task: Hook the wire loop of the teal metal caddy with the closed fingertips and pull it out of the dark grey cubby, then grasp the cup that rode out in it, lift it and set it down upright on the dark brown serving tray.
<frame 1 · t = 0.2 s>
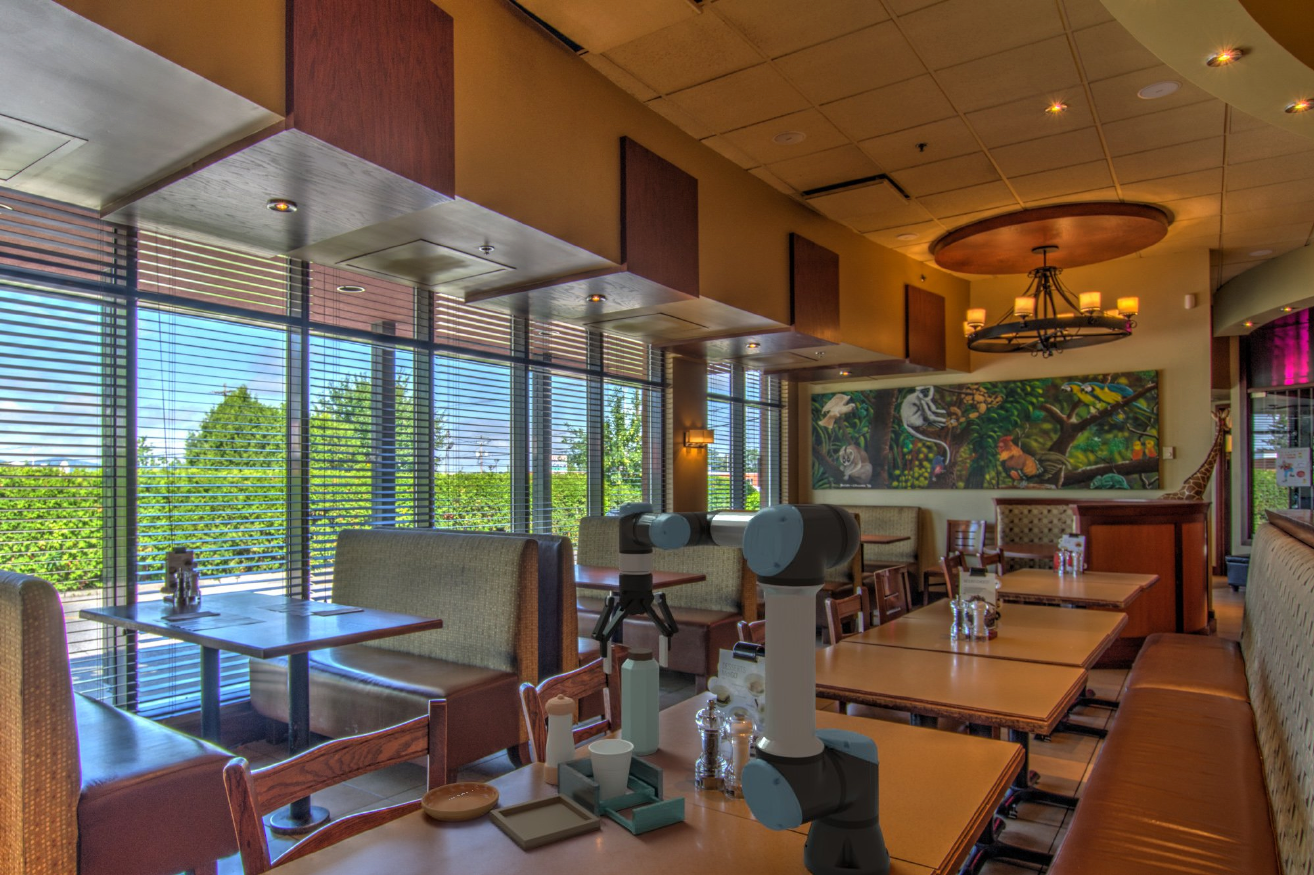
hand: (635, 669, 179), 27 cm above the table, fingers open, 13 cm apart
water bottle: (640, 750, 207), on the table
pepper shaker: (560, 779, 187), on the table
caddy: (625, 795, 172), point 2 cm above the table, slide at 0.0 cm
cup: (611, 798, 176), resting in caddy
tray: (544, 824, 163), on the table
cubby: (611, 797, 176), on the table
saucer: (460, 810, 171), on the table
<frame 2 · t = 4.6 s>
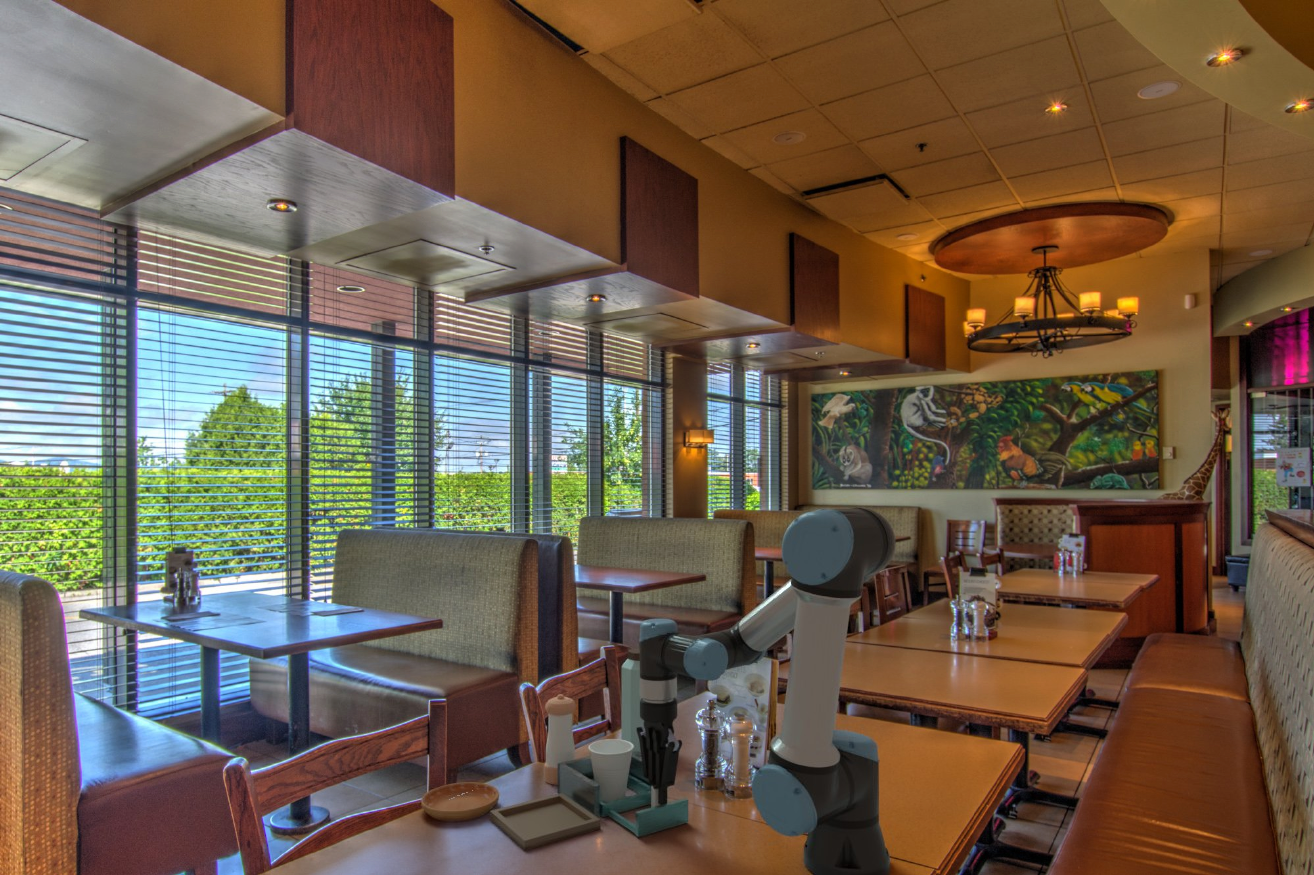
hand: (659, 818, 161), 2 cm above the table, fingers closed
caddy: (628, 797, 171), point 2 cm above the table, slide at 1.2 cm, touching gripper
everything else where it was.
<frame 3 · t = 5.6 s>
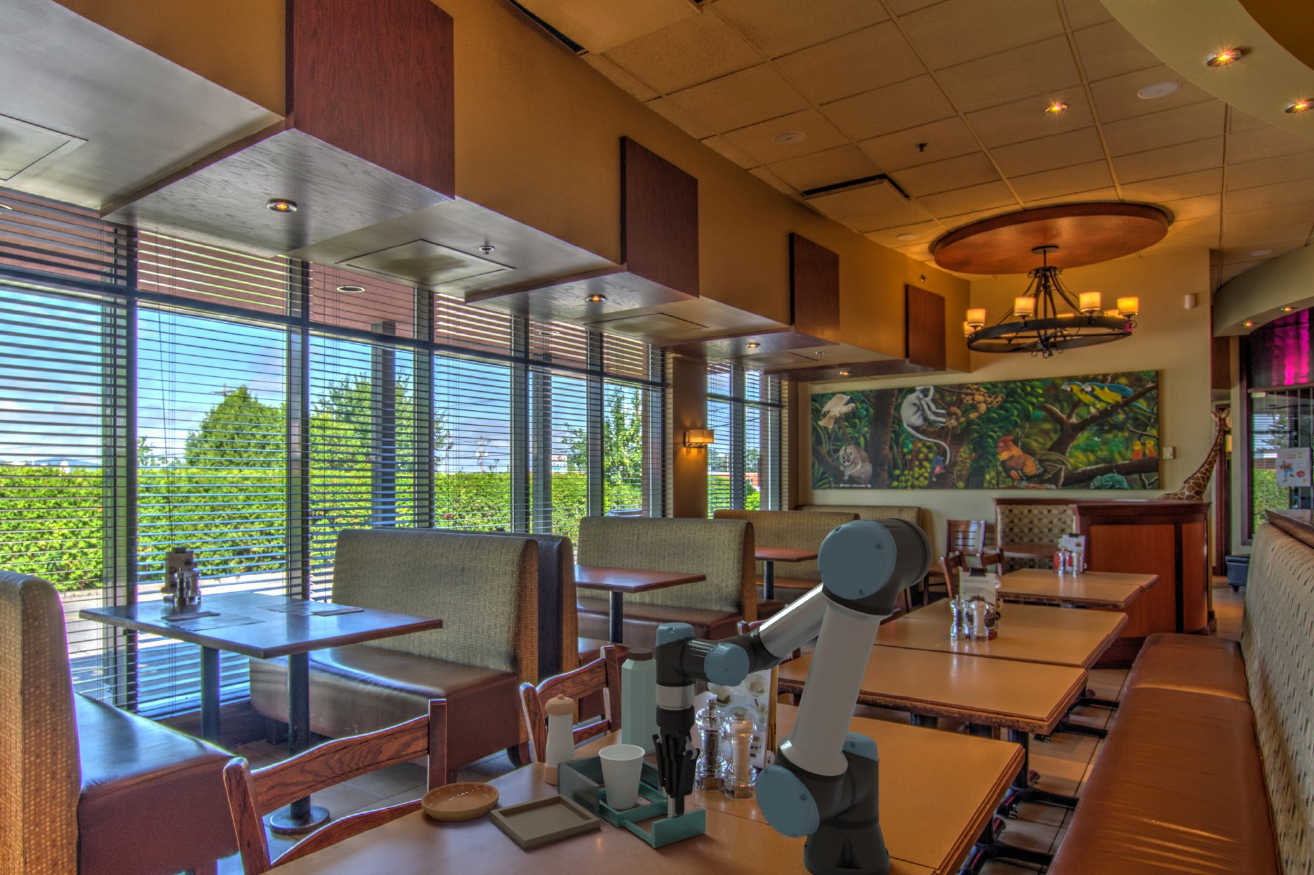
hand: (675, 828, 157), 2 cm above the table, fingers closed
caddy: (643, 806, 166), point 2 cm above the table, slide at 6.9 cm, touching cup, gripper
cup: (621, 805, 173), resting in caddy
everything else where it was.
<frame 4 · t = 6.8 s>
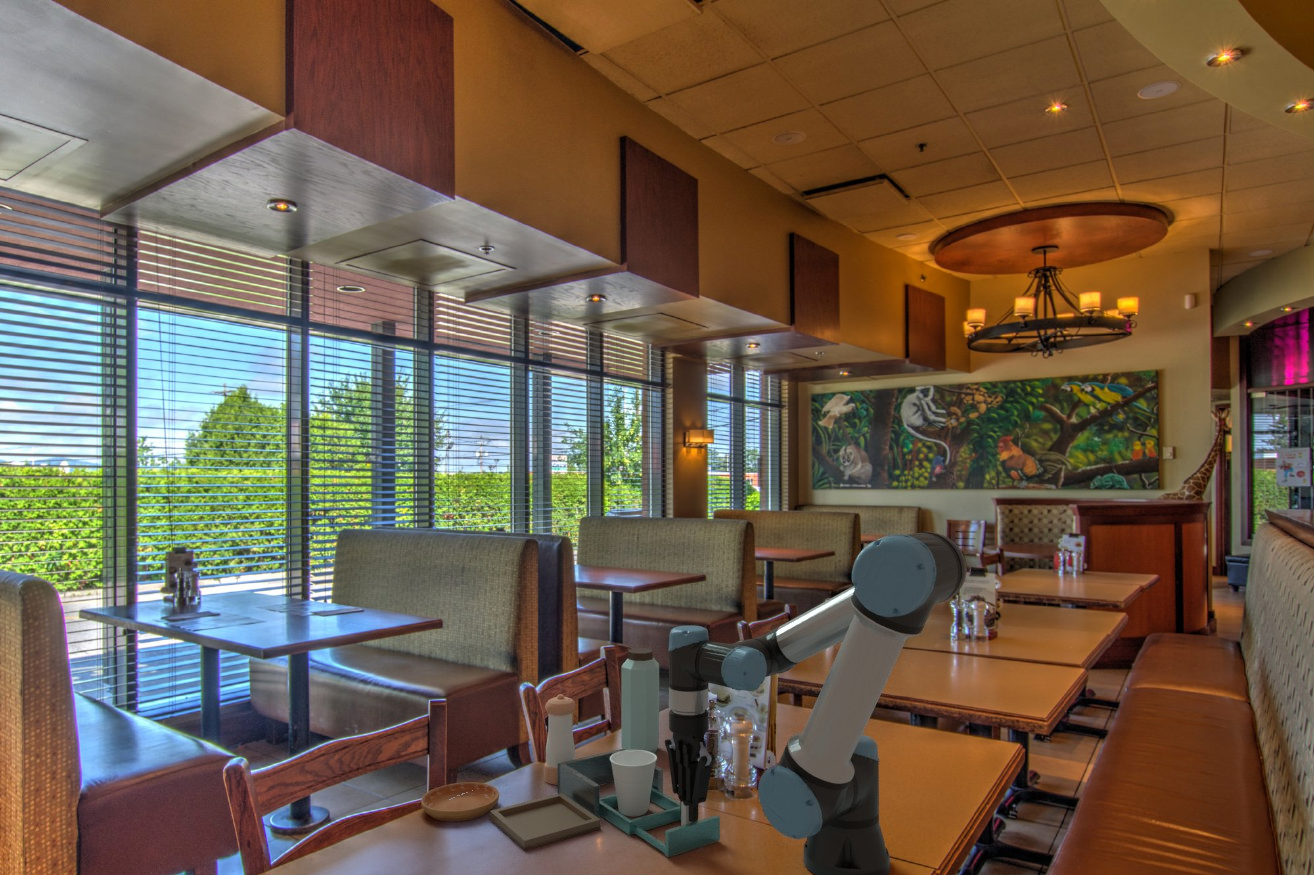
hand: (689, 836, 153), 2 cm above the table, fingers closed
caddy: (656, 813, 162), point 2 cm above the table, slide at 11.3 cm, touching cup, gripper
cup: (633, 812, 169), resting in caddy
everything else where it was.
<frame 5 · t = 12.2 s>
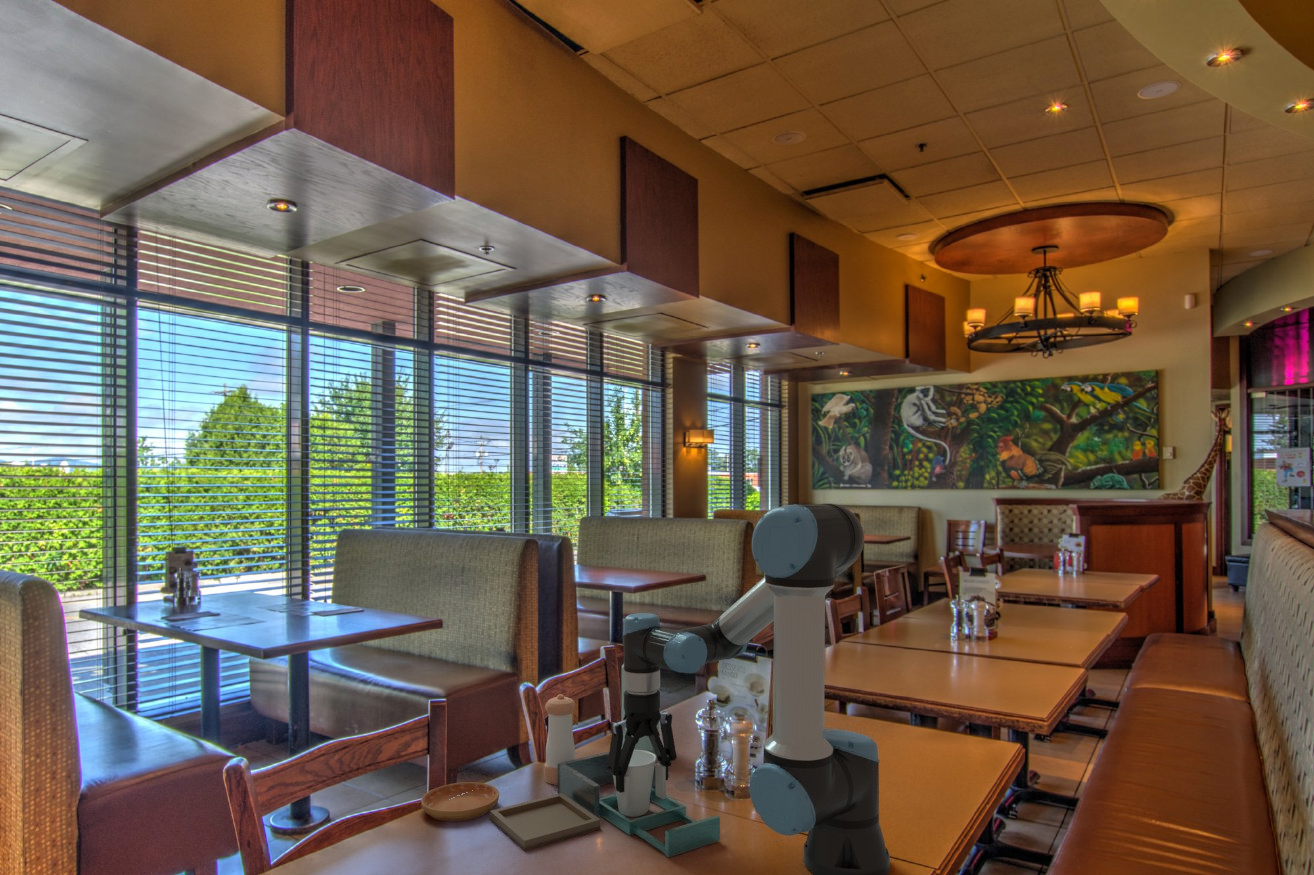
hand: (642, 801, 167), 3 cm above the table, fingers closed on cup, 8 cm apart
caddy: (656, 813, 162), point 2 cm above the table, slide at 11.3 cm, touching cup
cup: (633, 812, 169), resting in caddy, touching gripper
everything else where it was.
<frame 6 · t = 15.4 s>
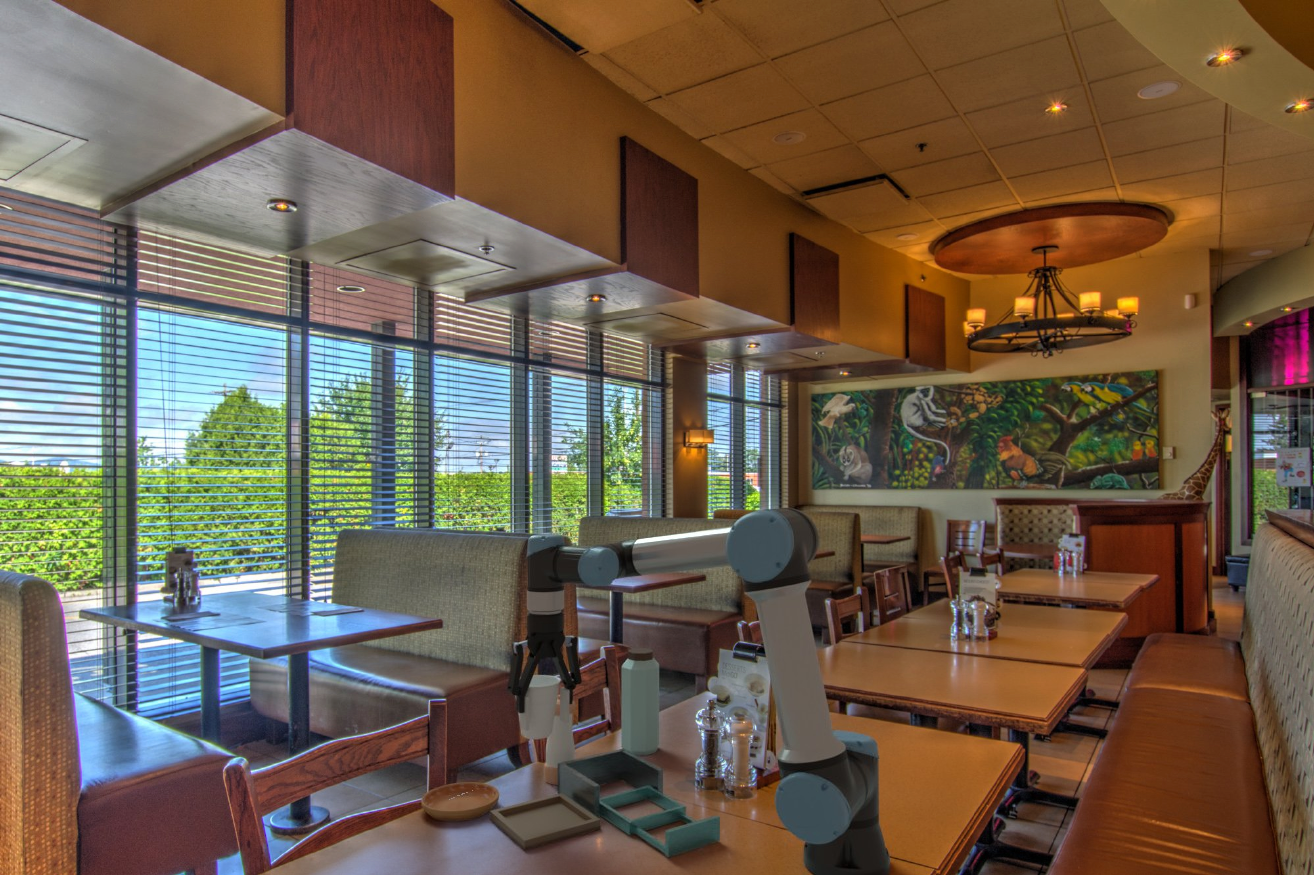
hand: (544, 724, 164), 20 cm above the table, fingers closed on cup, 8 cm apart
caddy: (656, 813, 162), point 2 cm above the table, slide at 11.3 cm
cup: (536, 736, 166), point 17 cm above the table, touching gripper
everything else where it was.
when the fingers open (5 cm above the table, at t = 18.5 s): cup moves 4 cm, resting on tray.
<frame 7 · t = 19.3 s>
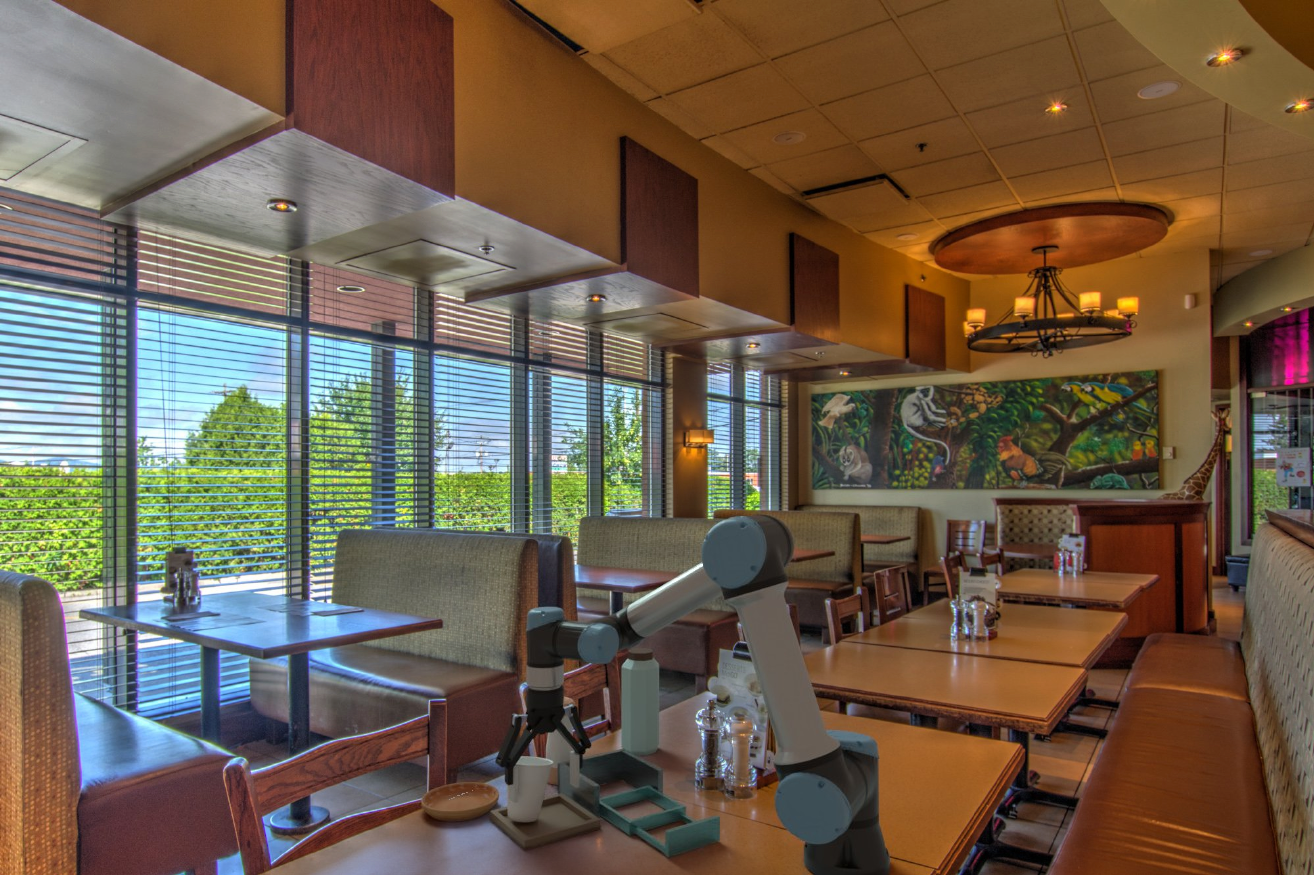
hand: (544, 792, 163), 6 cm above the table, fingers open, 13 cm apart
cup: (523, 819, 163), point 1 cm above the table, touching gripper, tray
everything else where it was.
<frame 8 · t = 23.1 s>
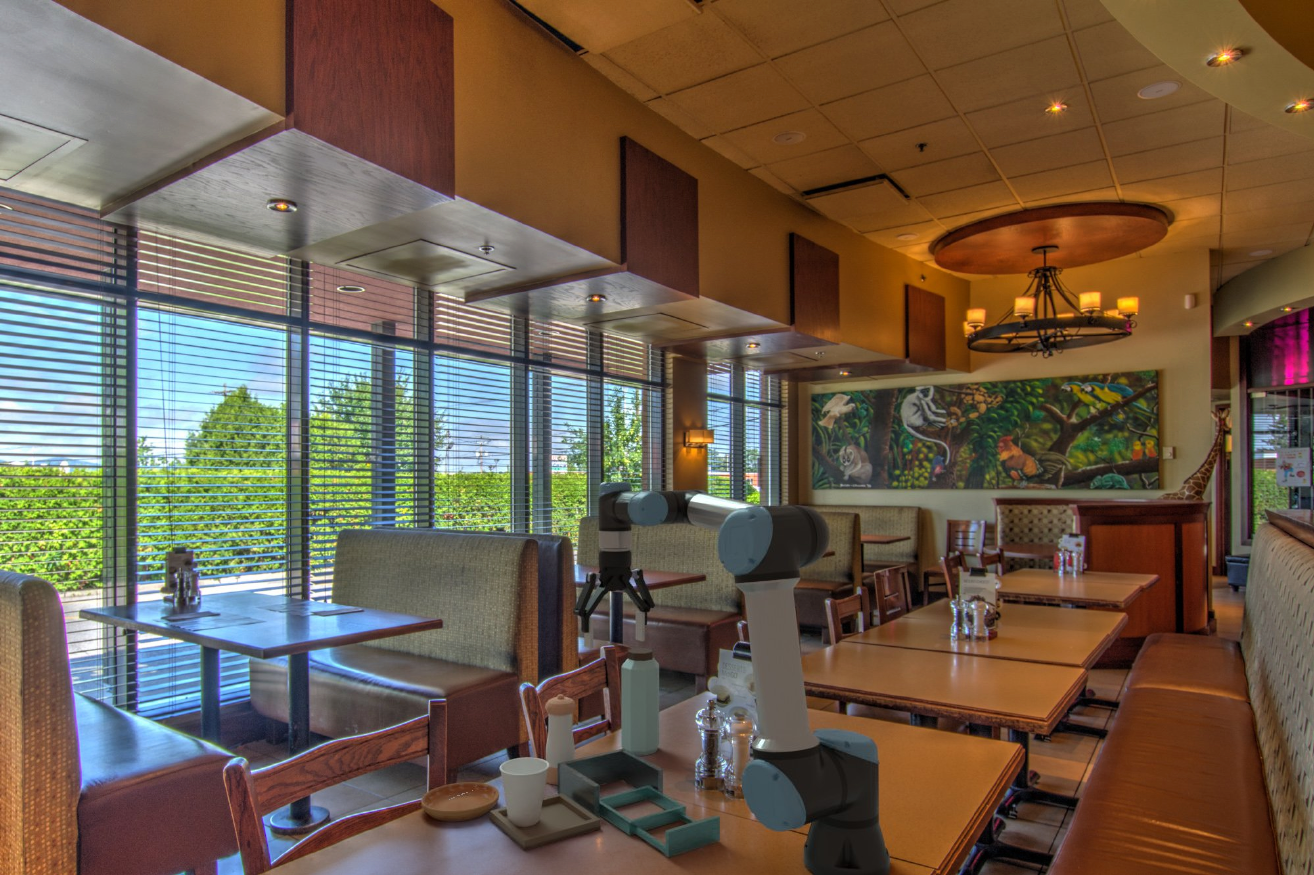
hand: (614, 643, 184), 32 cm above the table, fingers open, 13 cm apart
cup: (524, 822, 163), resting on tray
everything else where it was.
at the end: cup inside the target area on the tray (4.0 cm from its centre), point 0.4 cm above the tray's base; cup tilted 0°; caddy slide at 11.3 cm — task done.
